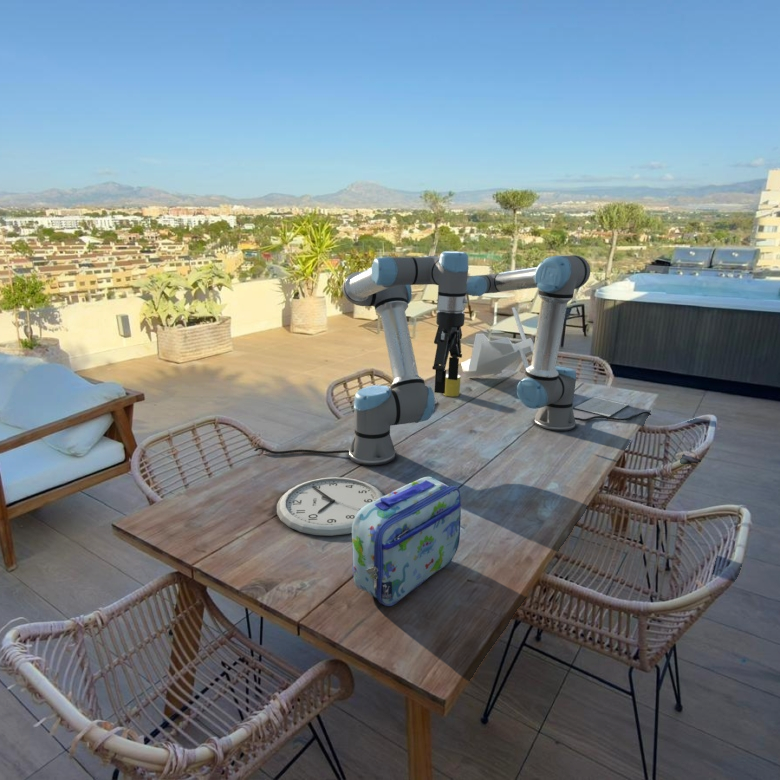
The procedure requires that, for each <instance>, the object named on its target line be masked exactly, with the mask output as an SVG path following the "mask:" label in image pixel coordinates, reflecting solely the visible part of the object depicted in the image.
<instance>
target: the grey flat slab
mask: <svg viewBox="0 0 780 780" xmlns="http://www.w3.org/2000/svg"><path fill="white" fill-rule="evenodd" d="M628 406H629V404H627V403H623V402H618V401H614V400H609V399H605V398H601V397H596V396H593V397H592V398H590V399H588V400H586V401H584V402H582V403H580V404H578V405H575V406H574V407H573V409H575V410H581V411H584V412H587V413H593V414H596V415H599V416H606V417H612V416H613V415H614V414H616V413H617V412H619V411H621V410H623V409H624V408H626V407H628Z"/></svg>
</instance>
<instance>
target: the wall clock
mask: <svg viewBox="0 0 780 780" xmlns="http://www.w3.org/2000/svg"><path fill="white" fill-rule="evenodd" d="M383 496H385V494H384V493H383V492H382V491H381V490H380V489H379V488H377V487H376V486H374V485H372V484H371V483H369V482H365V481H362V480H359V479H355V478H349V477H338V476H337V477H335V476H333V477H332V476H331V477H322V478H317V479H312V480H307V481H305V482H302V483H299V484H297V485H295V486H293V487H292V488H290V489H288V490H287V491H286V492H285V493H284V494H283V495H281V496H280V498H279V499H278V502H277V503H276V515H277V517H278V518H279V520H280V521H281V522H282V523H283V524H285V525H286V526H287V527H288V528H290V529H293V530H295V531H297V532H299V533H303V534H308V535H312V536H327V537H328V536H329V537H331V536H332V537H333V536H342V535H350V534H352V526H353V521H354V518H355V516H356V515H357V513H358V512H359V510H360V509H361V508H362V507H364V506H365V505H367V504H369V503H371V502H373V501H375V500H377V499H379V498H381V497H383Z"/></svg>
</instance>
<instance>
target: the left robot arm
mask: <svg viewBox="0 0 780 780" xmlns="http://www.w3.org/2000/svg"><path fill="white" fill-rule="evenodd" d="M468 276H469V255H468V253H467V252H463V251H442V252H441V253H440V254H439V256H437V255H426V256H406V257H405V256H383V257H382V256H381V257H376V258H375V259H373V261H372V264H371V267H370V268H368V269H365V270H363V271H356V272H352V273H350V274H348V275H347V276H346V277H345V279H344V280H343V282H342V287H341V288H342V294H343V296H344V298H345V300H347V301H348V302H349V303H352V304H353V305H355V306H359V307H374V310H375V314H376V315H378V316H379V317H380V319H381V325H382V331H383V335H384V339H385V345H386V349H387V355H388V359H389V360H388V361H389V365H390V371H391V375H392V380H393V381H392V383H391V384H390V386H388V385H385V384H384V385H383V384H380V385H379V384H374V385H367V386H364V387H362V388H360V389H359V390H358V391H357V392H356V393H355V395H354V402H353V403H354V404H353V409H354V410H353V411H354V413H353V414H354V417H353V418H354V420H353V421H354V435H353V438H352V441H351V443H350V447H349V449H344V450H343V449H341V450H315V449H304V448H303V449H302V448H301V449H292V450H291V449H289V450H280V451H279V450H278V451H276V450H271V449H269V448H266V447H264V446H258V447H256V448H254V450H253V452H258V451H259V450H263V451H265V452H267V453H269V454H275V455H276V454H277V455H280V454H281V455H282V454H284V455H285V454H291V453H312V454H313V453H314V454H322V455H323V454H324V455H325V454H326V455H327V454H330V455H331V454H344V453H348V457H349V459H350V461H351V462H352V463H353V462H354V463H355V464H358V465H361V466H368V467H369V466H370V467H371V466H372V467H373V466H383V465H386V464H390V463H391V462H392V461H393V460H395V458H396V448H395V445H394V443H393V440H392V437H391V427H392V426H399V425H406V424H413V423H414V424H417V423H422V422H425V421H428V420H430V419H431V417H432V416H433V413H434V411H435V405H436V404H435V400H436V396H435V393H436V394H442V395H443V394H444V393H445V382H446V374H448V379H451V380H458V375H459V363H460V359H461V358H463V353H462V341H461V340H462V339H460V327H461V328H462V327H463V326H464V325H465V318H466V317H465V315H466V313H465V310H466V304H468V299H466V298H467V295H466V289H467V277H468ZM422 285H423V286H424V285H425V286H427V285H433V286H434V285H435V286H437V303H436V310H438V311H436V325H437V326H442V327H443V331H442V332H439V334H438V344H436V349H435V350H436V351H435V355H434V361H433V365H432V370H433V371H435V372H434V373H435V374H434V375H435V376H434V390H433V388H432V387H431V386H429V385H426V384H425V379H424V378H423V377H421V376H419V372H418V367H417V361H416V358H415V353H414V348H413V343H412V338H411V334H410V329H409V325H408V319H407V314H406V310H407V309H408V308H409V305H410V303H411V302H412V297H413V294H412V292H413V290H412V286H422ZM449 355H450V356H449ZM447 363H448V372H447V369H446V366H447Z"/></svg>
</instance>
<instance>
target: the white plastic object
mask: <svg viewBox="0 0 780 780" xmlns="http://www.w3.org/2000/svg"><path fill="white" fill-rule="evenodd" d="M511 310H512V314H513V317H514V320H515V322H516V326H517V328H518V333H519V335H520V338H521V341H519V342H516V343H513V342H512V341H511V339H510V338H509V337H508V336H507V337H503V338H498V339H493V340H490V339H489V338H488V336H486V334H485V333H475V337H474V342H473V346H472V351H471V356H470V358H468V359H467V360H465V361H462V362H461V363H460V364H461V371H462V372H463V374H464V376H465V377H466V378H470V377H471V378H472V377H481V376H489V375H493V376H497V375H500V374H502V373H503V371H504V370H505V369H507V367H509V366H510V365H512V364H513V363H515V362H516V361H517V360H519V359H520V358H521V361H522V364H523V367H524V370H525V371H526V368H527V367H529V366H530V365H529V362H528V358H527V354H529V353H532V354H533V350H534V344H535V342H534V341H533V339H532V338H531V337H529V338H527V337H526V334H525V331H524V327H523V325H522V322H521V318H520V315H519V313H518V311H517V309H516V307H515V306H513V307H511Z"/></svg>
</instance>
